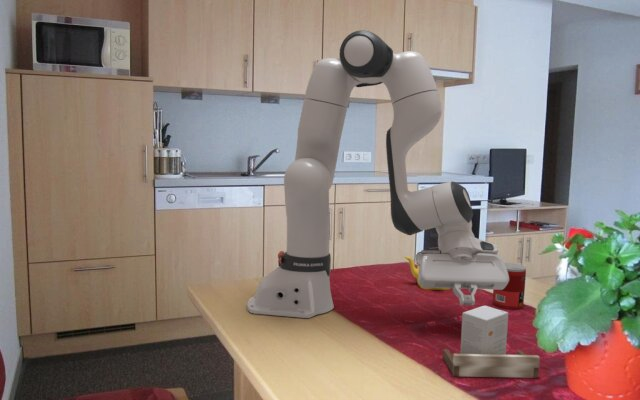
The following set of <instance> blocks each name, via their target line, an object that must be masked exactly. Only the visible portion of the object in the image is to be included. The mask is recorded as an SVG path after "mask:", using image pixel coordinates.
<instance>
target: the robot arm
mask: <svg viewBox="0 0 640 400" xmlns="http://www.w3.org/2000/svg"><path fill="white" fill-rule="evenodd" d="M434 78H435V77H434V76H433V73H432V70H431V68H430V66H429V64H428V63H427V61H426V58H425V57H424V55H423V54H422V53H420V52H418V51H414V50H413V51H411V50H407V51H403V52H399V53H394V51H393V48H391V46H389V44H387V42H385V41H384V40H383V39H382V38H381V37H380V36H379V35H378V34H376V33H374V32H372V31H370V30H364V29H363V30H355V31H354V32H353V31H352V32H351V33H349V34H348V35H347V36H346V37H345V38H344V39H343V41H342V43H341V45H340V47H339V57H338V58H333V57H326V58H322V59H320V60H319V61H317V62H316V63H315V65H314V67H313V70H312V72H311V74H310V78H309V80H308V83H307V87H306V89H305V95H304V98H303V99H304V100H303V104H302V108H301V113H300V117H299V123H298V127H297V141H296V149H295V150H296V151H295V156H294V157H295V158H294V161H293V162H292V163H290V164H289V165H288V166H287V168H286V170H285V173H284V177H283V185H284V186H283V188H284V189H283V190H284V204H285V205H284V206H285V214H286V215H285V216H286V251H284V250H280V251H279V252H278V254H277V258H278V261H277V263H278V267H276V268H275V269H274V270H272V271H271V272H270V273H268V274H267V275H265V276H264V277H263V278H262V279H261V280H260V281H259V283H258V285H257V287H256V292H255V294H254V295H252V296H251V297H250V298H249V299H248V300H247V304H246V309H247V311H248V312H249V313H251V314H255V315H266V316H277V317H290V318H291V317H292V318H303V319H309V318H312V317H314V316H316V315H322V314H326V313H328V312H331V311H332V310H333V309H334V308H335V307H334V306H335V305H334V302H333V299H332V298H333V297H332V292H331V283H330V281H331V280H330V276H331V271H332V256H331V253H330V240H331V239H330V236H331V235H330V231H331V228H330V227H331V221H330V189H331V188H332V186H333V181H334V178H335V171H336V168H337V161H338V156H339V150H340V144H341V139H342V133H343V128H344V125H345V119H346V116H347V111H348V106H349V102H350V101H349V100H350V97H351V94H352V91H353V89H354V88H355V87H356V88H363V87H371V86H372V87H373V86H374V87H375V86H378V85H381V84H383V85H385V87H386V89H387V91H388V93H389V97H390V102H391V106H392V108H393V110H392V111H393V120H392V124H391V127H389V129H387V131H386V136H385V145H386V146H385V148H386V149H385V150H386V151H385V152H386V161H387V172H388V183H389V194H390V219H391V222H392V224H393V227H394V229H396V230H397V231H399V232H400V233H402V234H405V235H406V236H413V235H415V234H419V233H421V232H423V231H426V230H430V229H434V228H435V231H436V232H437V237H438V238H437V246H438V250H437V249H436V250H427V249H422V250H421V251H418V252H417V253H416V254H415V263H416V265H417V266H419V273H418V279H419V284H420V285H421V286H422V287H425V288H450V289H452V292H453V293H454V295H455V296H456V297H457V298H458V300H459V305H460V306H474V305H475V304H476V298H475V295H476V292H477V290H493V289H495V290H503V289H504V288H505V287H506V285H507V284H508V282H509V275H508V272H507V269H506V266H505V263H506V262H505V261H504V259H503V257H501V255H499V253H498V252H499V246H498V245H497V244H495V243H492V242H489V241H485V240H484V239H483V240H482V239H479V238H477V237H475V234H474V232H473V229H472V228H473V222H472V219H473V216H474V213H473V206H472V203H471V197H470V195H469V192H468V190H467V189H466V187H464V186H463V185H462V184H460V183H458V182H455V181H446V182H443V183H442V182H441V183H439V184H435V185H433V186H429V187H426V188H422V189H418V190H414V191H410V190H409V187H408V178H407V177H408V176H407V165H406V156H407V155H408V152H409V151H410V149H411V148H412V147H413V146H414V145H416V144H417V143H418V142H420V141H421V140H422V139H423V138H424V137H426V136H427V135H429V134H430V133H431V132H432V131H433V130H434V129H435V128H436V126H437V125H438V123H439V122H440V119H441V116H442V112H443V110H442V103H441V98H440V94H439V90H438V87H437V84H436V80H435V79H434ZM461 289H463V290H464V289H466V290H468V293H471V294H464V293H463V291H462V290H461Z"/></svg>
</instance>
